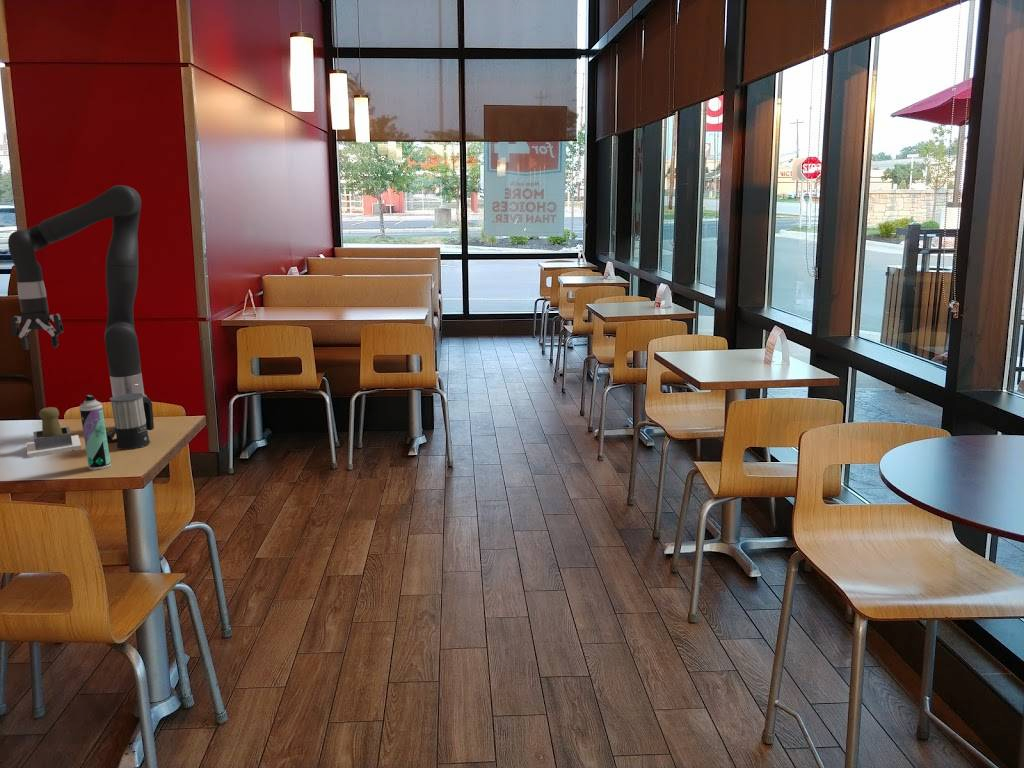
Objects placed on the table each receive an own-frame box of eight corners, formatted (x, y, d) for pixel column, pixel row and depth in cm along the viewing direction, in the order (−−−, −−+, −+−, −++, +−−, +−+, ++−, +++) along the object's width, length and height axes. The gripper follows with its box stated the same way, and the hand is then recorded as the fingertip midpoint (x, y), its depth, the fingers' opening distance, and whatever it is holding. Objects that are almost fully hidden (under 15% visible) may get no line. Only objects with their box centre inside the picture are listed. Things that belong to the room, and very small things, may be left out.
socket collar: (70, 437, 274) (68, 426, 273) (72, 444, 266) (70, 433, 265) (35, 443, 270) (33, 431, 269) (35, 450, 261) (33, 439, 261)
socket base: (78, 438, 277) (78, 435, 277) (81, 449, 265) (81, 445, 265) (27, 446, 271) (26, 442, 271) (27, 457, 259) (27, 453, 258)
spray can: (93, 464, 249) (82, 393, 245) (113, 463, 249) (103, 392, 245) (85, 470, 244) (74, 398, 239) (106, 469, 244) (96, 397, 240)
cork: (56, 447, 264) (50, 410, 262) (37, 446, 265) (31, 410, 263) (69, 441, 270) (64, 405, 268) (51, 441, 271) (45, 405, 269)
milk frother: (143, 449, 262) (136, 399, 259) (88, 452, 262) (80, 402, 259) (160, 436, 276) (153, 388, 273) (107, 438, 276) (100, 391, 273)
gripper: (61, 293, 281) (69, 345, 284) (14, 296, 280) (22, 347, 283) (51, 296, 273) (59, 349, 277) (2, 298, 272) (11, 352, 276)
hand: (40, 348), depth 280 cm, fingers open, 8 cm apart
